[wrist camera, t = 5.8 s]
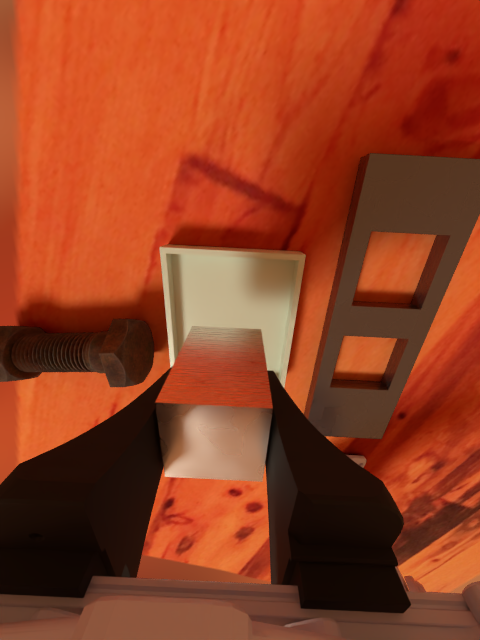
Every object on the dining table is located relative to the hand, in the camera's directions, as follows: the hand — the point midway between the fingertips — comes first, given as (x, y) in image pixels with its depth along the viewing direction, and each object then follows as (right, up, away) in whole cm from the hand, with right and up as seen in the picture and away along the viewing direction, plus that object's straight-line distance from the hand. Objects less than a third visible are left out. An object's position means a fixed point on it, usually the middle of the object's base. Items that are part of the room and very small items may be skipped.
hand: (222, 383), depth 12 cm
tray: (0, +3, +8) cm, 8 cm away
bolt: (-15, +2, +9) cm, 17 cm away
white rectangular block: (0, +1, +2) cm, 2 cm away
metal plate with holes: (+12, +3, +8) cm, 15 cm away
